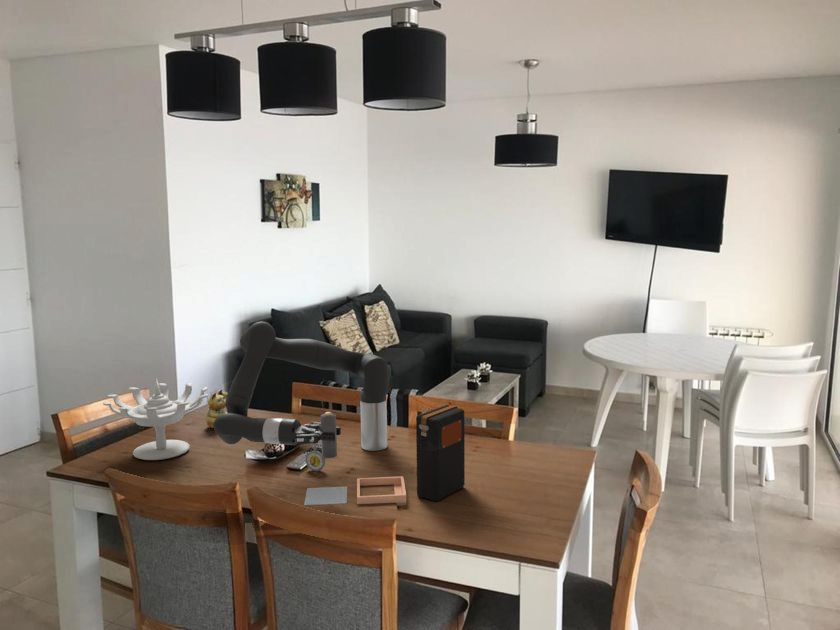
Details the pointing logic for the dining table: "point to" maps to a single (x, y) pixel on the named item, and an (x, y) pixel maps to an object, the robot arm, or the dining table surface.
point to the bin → (398, 497)
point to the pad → (326, 495)
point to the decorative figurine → (216, 406)
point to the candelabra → (158, 419)
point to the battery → (328, 426)
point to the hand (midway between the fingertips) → (337, 433)
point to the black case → (440, 452)
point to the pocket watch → (315, 460)
